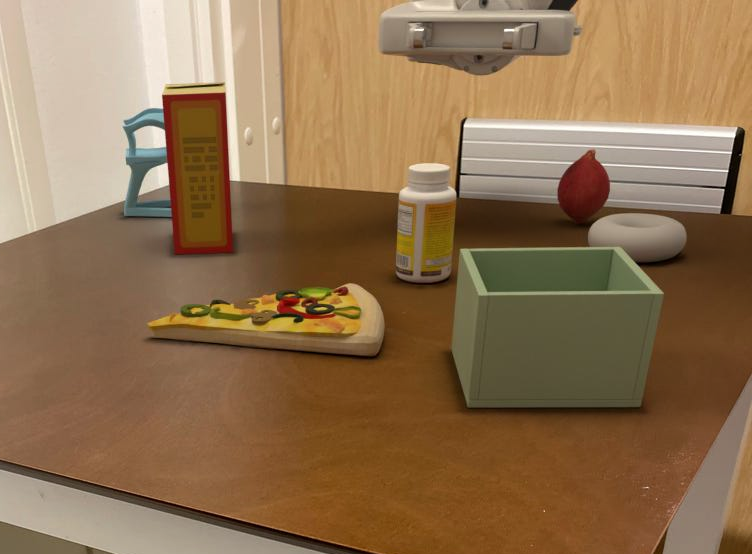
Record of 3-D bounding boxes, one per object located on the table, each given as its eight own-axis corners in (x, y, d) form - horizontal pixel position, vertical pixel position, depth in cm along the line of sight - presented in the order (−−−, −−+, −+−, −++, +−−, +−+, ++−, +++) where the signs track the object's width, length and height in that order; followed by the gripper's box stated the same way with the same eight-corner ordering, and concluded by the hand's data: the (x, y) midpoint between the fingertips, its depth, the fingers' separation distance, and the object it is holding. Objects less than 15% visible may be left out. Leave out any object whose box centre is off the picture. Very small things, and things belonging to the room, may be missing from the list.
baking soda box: (233, 252, 108) (225, 88, 99) (174, 254, 108) (161, 90, 99) (231, 231, 116) (224, 78, 107) (177, 234, 116) (165, 80, 106)
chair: (124, 207, 128) (113, 105, 121) (187, 204, 129) (180, 102, 122) (123, 220, 122) (112, 113, 115) (189, 217, 123) (182, 110, 116)
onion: (554, 229, 113) (565, 153, 109) (551, 217, 118) (561, 144, 113) (606, 229, 112) (619, 153, 108) (601, 218, 117) (613, 144, 112)
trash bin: (602, 349, 80) (620, 246, 75) (640, 407, 70) (664, 293, 65) (451, 350, 81) (459, 248, 76) (467, 407, 71) (478, 295, 66)
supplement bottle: (457, 272, 99) (466, 163, 93) (440, 287, 95) (448, 173, 89) (406, 267, 101) (411, 160, 96) (386, 281, 97) (391, 170, 92)
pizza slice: (395, 358, 79) (397, 321, 78) (143, 368, 79) (139, 331, 77) (370, 301, 92) (371, 268, 90) (153, 310, 92) (150, 277, 90)
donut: (611, 239, 109) (567, 255, 103) (617, 206, 107) (573, 221, 101) (698, 253, 104) (657, 271, 98) (706, 218, 102) (664, 235, 96)
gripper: (579, 62, 105) (564, 77, 95) (396, 59, 111) (363, 73, 101) (589, -7, 102) (575, 0, 91) (399, -6, 108) (365, 1, 97)
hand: (462, 39), depth 96 cm, fingers open, 8 cm apart
